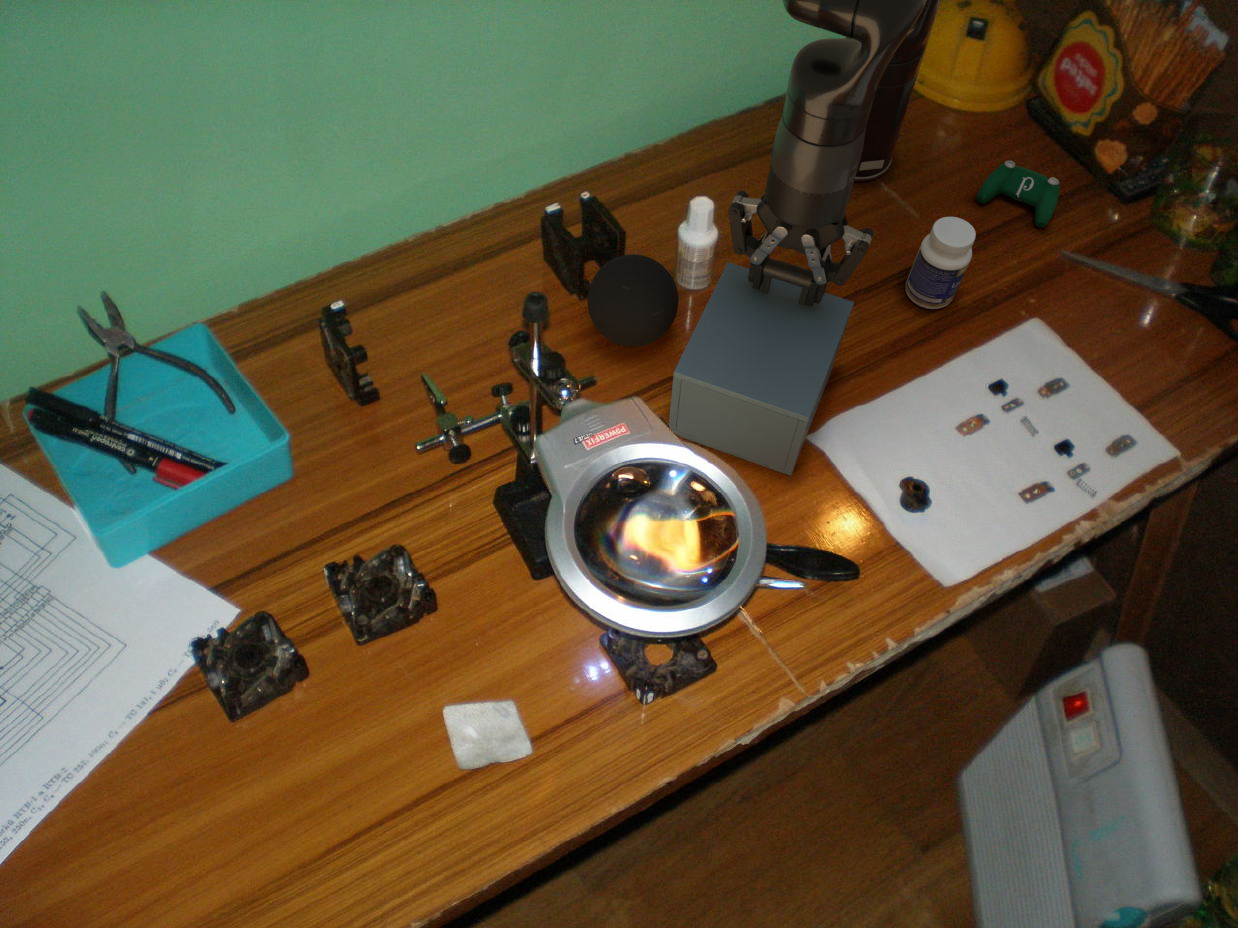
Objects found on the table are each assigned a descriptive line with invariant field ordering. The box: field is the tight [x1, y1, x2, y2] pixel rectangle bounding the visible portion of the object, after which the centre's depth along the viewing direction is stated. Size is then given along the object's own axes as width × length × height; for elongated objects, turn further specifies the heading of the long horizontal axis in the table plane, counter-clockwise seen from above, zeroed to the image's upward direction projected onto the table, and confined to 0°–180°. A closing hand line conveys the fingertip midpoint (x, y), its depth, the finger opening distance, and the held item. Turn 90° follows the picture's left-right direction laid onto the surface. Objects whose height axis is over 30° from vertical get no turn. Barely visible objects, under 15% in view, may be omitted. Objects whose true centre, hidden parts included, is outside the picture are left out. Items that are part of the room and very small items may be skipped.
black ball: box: [586, 253, 680, 348], centre depth 108 cm, size 10×10×10 cm
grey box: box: [668, 317, 850, 477], centre depth 103 cm, size 15×14×10 cm
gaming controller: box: [975, 160, 1061, 229], centre depth 122 cm, size 9×4×6 cm
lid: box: [672, 257, 855, 423], centre depth 96 cm, size 16×14×5 cm
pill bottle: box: [904, 216, 977, 310], centre depth 111 cm, size 6×6×10 cm
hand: (784, 291), depth 100 cm, fingers closed on lid, 5 cm apart
